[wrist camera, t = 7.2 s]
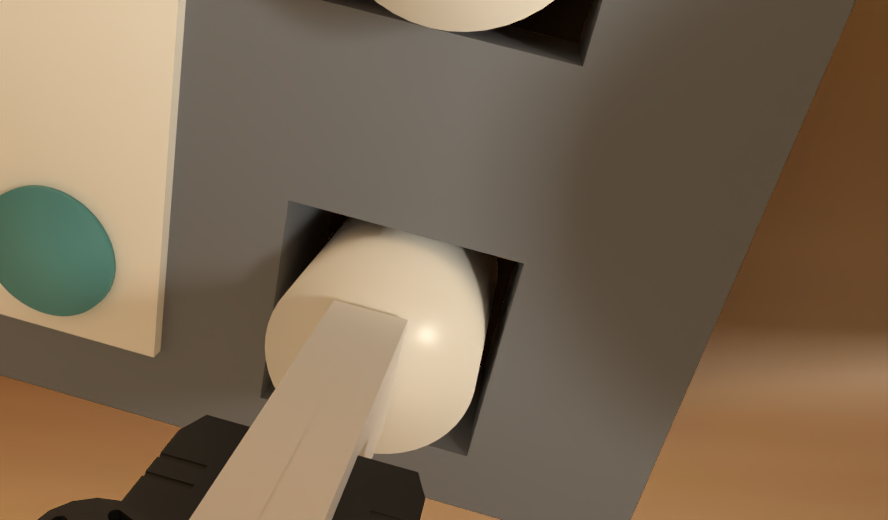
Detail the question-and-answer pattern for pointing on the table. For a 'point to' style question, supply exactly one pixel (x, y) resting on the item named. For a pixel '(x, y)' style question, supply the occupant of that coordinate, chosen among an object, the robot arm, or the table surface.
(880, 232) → the table surface
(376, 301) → the end button
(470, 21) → the middle button
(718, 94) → the button board
